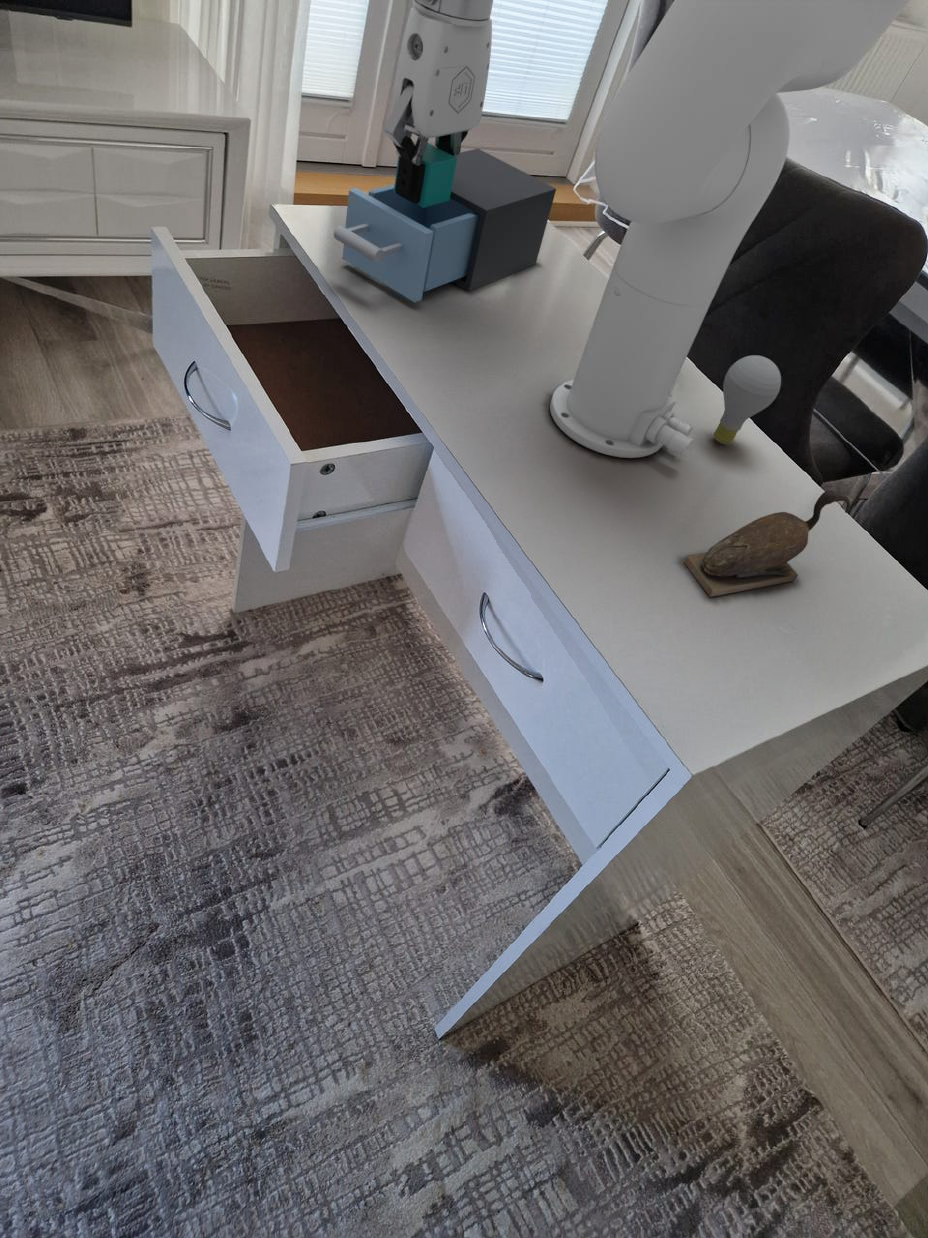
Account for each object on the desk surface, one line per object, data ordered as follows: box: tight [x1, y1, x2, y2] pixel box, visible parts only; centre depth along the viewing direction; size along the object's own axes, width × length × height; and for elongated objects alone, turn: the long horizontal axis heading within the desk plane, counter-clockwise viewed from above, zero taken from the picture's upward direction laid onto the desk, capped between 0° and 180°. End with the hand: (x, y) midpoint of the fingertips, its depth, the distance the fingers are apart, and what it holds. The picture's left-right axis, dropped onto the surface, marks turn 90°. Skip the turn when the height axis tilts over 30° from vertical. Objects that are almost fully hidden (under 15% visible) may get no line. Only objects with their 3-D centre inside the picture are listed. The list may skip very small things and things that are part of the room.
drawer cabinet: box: [450, 148, 557, 292], centre depth 101 cm, size 15×13×10 cm
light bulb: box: [713, 354, 782, 445], centre depth 84 cm, size 5×6×10 cm
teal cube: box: [394, 142, 457, 208], centre depth 89 cm, size 4×4×4 cm
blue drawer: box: [333, 183, 480, 303], centre depth 93 cm, size 18×11×8 cm, turn 141°
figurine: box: [683, 489, 851, 598], centre depth 71 cm, size 14×4×9 cm, turn 113°
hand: (422, 192), depth 91 cm, fingers closed on teal cube, 4 cm apart
